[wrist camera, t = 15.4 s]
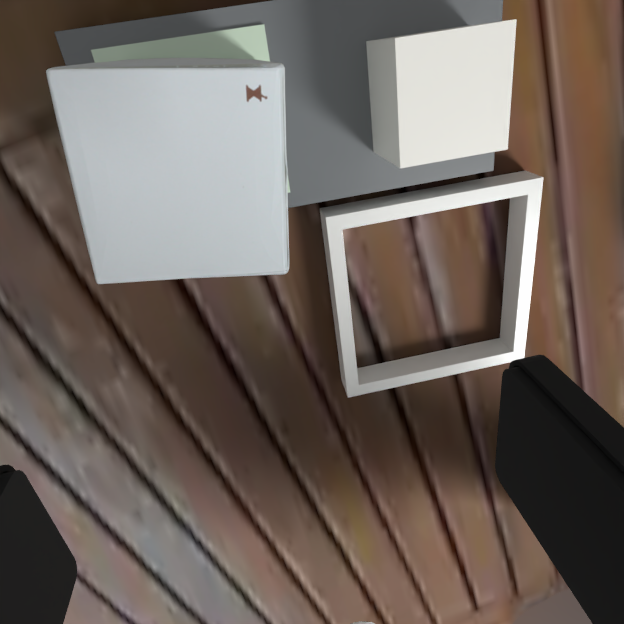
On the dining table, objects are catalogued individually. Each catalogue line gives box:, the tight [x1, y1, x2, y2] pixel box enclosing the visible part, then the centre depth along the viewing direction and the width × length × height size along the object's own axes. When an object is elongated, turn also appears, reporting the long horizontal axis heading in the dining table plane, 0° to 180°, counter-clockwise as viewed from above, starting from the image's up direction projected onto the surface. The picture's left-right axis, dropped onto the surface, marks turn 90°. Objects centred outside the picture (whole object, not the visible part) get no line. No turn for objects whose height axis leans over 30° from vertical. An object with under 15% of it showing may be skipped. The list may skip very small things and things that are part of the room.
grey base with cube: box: [54, 0, 516, 208], centre depth 26 cm, size 24×11×7 cm, turn 97°
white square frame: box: [320, 171, 543, 398], centre depth 36 cm, size 15×15×2 cm
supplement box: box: [46, 58, 289, 284], centre depth 21 cm, size 7×7×13 cm
